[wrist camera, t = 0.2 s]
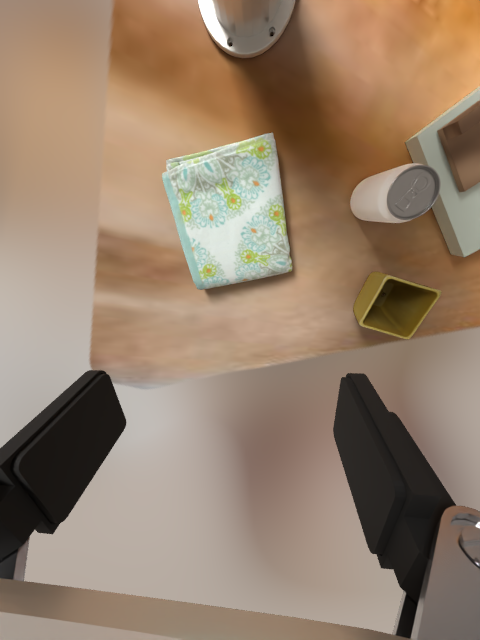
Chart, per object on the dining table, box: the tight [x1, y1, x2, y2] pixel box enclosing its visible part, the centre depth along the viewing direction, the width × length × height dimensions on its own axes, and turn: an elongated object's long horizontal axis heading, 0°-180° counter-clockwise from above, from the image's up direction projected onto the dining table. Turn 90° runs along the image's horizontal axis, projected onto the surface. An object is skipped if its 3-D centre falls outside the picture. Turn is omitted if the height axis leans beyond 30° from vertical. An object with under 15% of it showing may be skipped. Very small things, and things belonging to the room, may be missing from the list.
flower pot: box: [353, 272, 441, 339], centre depth 39 cm, size 9×9×9 cm
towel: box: [162, 132, 292, 290], centre depth 39 cm, size 18×21×5 cm
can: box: [350, 163, 441, 223], centre depth 32 cm, size 6×6×12 cm
